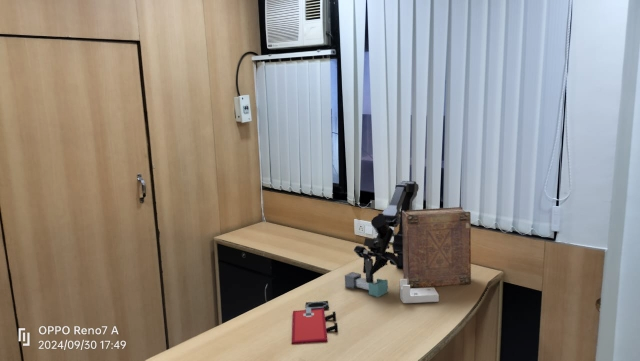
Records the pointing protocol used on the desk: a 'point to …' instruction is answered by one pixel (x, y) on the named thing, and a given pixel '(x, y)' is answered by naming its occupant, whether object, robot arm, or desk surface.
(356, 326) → the desk surface
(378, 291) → the socket block
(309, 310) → the red board with handle
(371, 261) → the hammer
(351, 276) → the outer sleeve
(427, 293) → the bracket
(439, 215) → the book
